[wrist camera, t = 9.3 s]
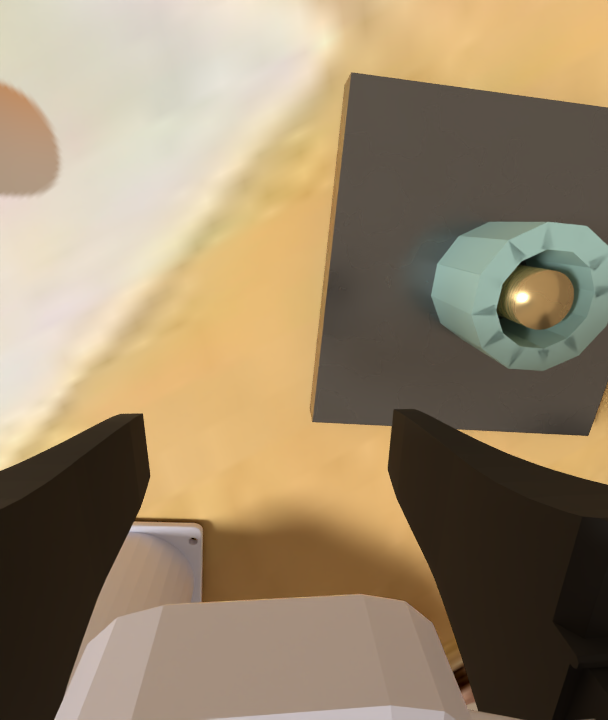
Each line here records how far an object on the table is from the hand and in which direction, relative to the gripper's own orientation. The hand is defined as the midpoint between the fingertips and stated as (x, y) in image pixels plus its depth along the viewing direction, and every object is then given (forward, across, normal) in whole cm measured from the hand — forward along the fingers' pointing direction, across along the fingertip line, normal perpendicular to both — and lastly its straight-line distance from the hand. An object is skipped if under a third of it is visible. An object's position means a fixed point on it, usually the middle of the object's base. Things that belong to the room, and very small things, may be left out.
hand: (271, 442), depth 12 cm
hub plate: (+9, -10, -4) cm, 14 cm away
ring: (+8, -10, -4) cm, 13 cm away
